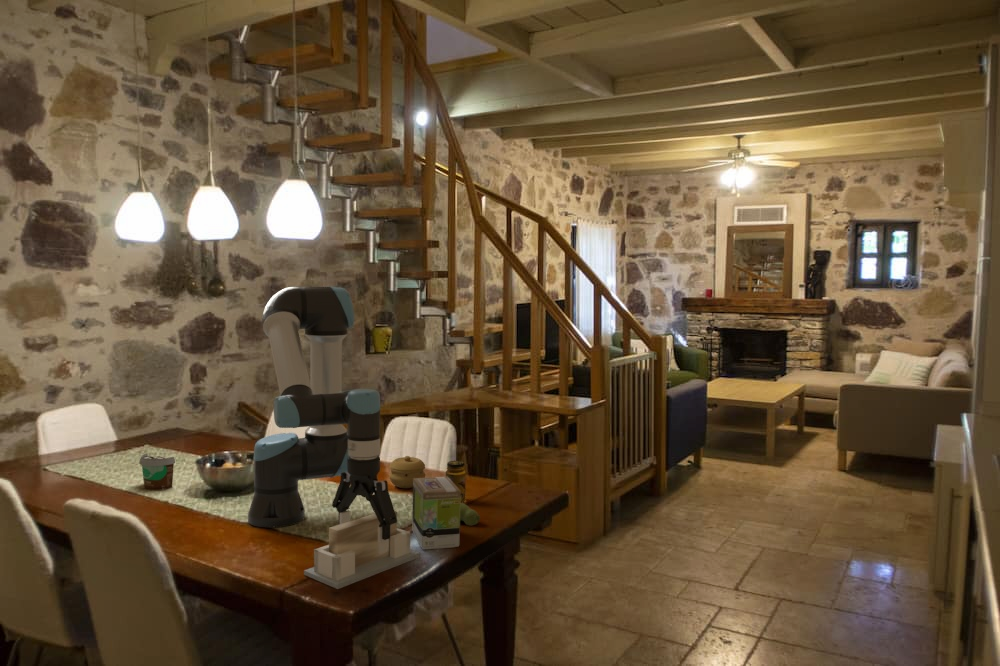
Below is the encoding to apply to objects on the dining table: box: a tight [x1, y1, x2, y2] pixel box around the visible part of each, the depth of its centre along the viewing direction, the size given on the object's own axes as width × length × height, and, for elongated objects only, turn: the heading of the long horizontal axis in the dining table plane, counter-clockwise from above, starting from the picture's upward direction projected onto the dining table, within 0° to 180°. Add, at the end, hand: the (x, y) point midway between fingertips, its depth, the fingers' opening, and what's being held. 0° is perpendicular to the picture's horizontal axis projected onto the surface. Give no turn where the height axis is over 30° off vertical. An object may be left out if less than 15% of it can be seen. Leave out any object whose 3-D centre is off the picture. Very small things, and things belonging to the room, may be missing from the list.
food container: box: [138, 453, 176, 491], centre depth 236 cm, size 12×6×10 cm, turn 68°
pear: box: [460, 503, 481, 527], centre depth 207 cm, size 6×5×10 cm
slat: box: [328, 511, 398, 568], centre depth 175 cm, size 3×18×10 cm, turn 141°
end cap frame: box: [303, 527, 421, 590], centre depth 175 cm, size 12×25×6 cm, turn 141°
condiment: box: [445, 460, 466, 503], centre depth 226 cm, size 7×8×12 cm
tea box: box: [411, 476, 461, 551], centre depth 193 cm, size 15×10×15 cm
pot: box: [388, 455, 426, 489], centre depth 242 cm, size 12×12×10 cm
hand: (363, 545), depth 175 cm, fingers open, 13 cm apart
